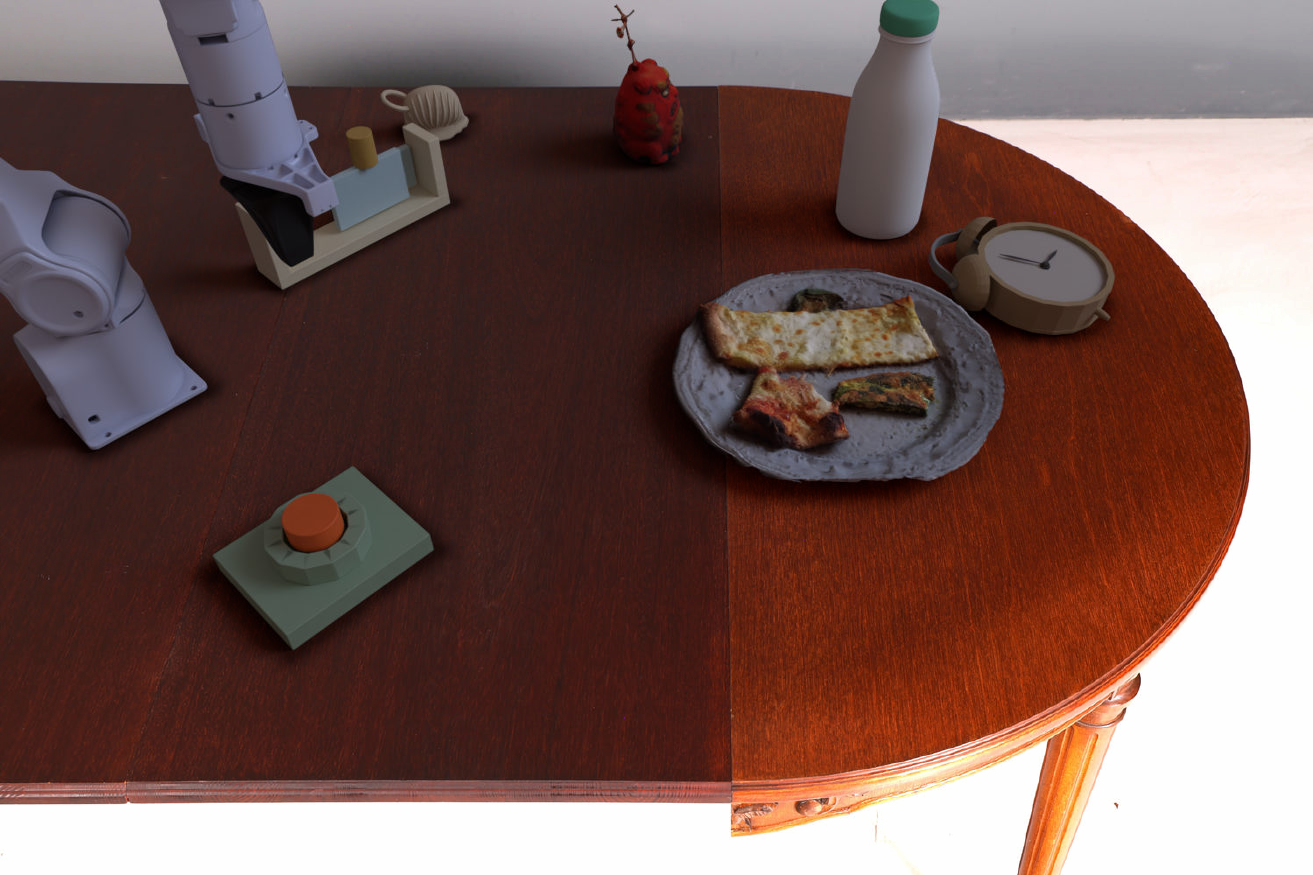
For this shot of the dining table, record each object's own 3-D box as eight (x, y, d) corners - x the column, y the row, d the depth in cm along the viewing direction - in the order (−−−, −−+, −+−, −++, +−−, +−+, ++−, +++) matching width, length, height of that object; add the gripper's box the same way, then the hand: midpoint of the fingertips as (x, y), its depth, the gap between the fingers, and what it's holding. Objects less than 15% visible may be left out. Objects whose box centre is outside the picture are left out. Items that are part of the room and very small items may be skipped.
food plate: (672, 499, 74) (672, 465, 71) (671, 293, 90) (671, 259, 87) (1028, 498, 73) (1040, 464, 71) (963, 291, 90) (971, 258, 87)
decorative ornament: (472, 137, 108) (465, 89, 104) (391, 148, 107) (380, 100, 103) (468, 118, 111) (460, 70, 107) (388, 128, 110) (378, 80, 106)
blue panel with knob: (345, 234, 94) (324, 155, 88) (332, 225, 95) (310, 146, 89) (414, 200, 98) (398, 122, 92) (400, 191, 99) (383, 113, 93)
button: (308, 562, 66) (300, 545, 65) (277, 531, 68) (270, 514, 67) (355, 530, 68) (349, 513, 67) (324, 501, 70) (318, 484, 69)
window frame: (282, 290, 91) (259, 222, 86) (258, 271, 93) (234, 203, 88) (450, 203, 100) (438, 137, 95) (425, 187, 102) (412, 122, 97)
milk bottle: (924, 242, 95) (969, 26, 80) (838, 242, 95) (868, 27, 80) (911, 194, 100) (951, -16, 86) (830, 194, 100) (856, -15, 86)
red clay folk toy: (680, 171, 103) (680, 22, 93) (609, 169, 104) (602, 21, 93) (684, 131, 109) (685, -14, 98) (617, 129, 109) (611, -15, 98)
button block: (293, 650, 66) (278, 618, 63) (220, 570, 70) (203, 537, 67) (434, 550, 71) (425, 517, 68) (357, 481, 75) (346, 448, 73)
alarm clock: (1119, 320, 82) (935, 263, 83) (1090, 364, 86) (914, 309, 87) (1117, 239, 90) (948, 187, 91) (1090, 283, 93) (928, 233, 94)
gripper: (355, 98, 65) (400, 273, 75) (235, 30, 72) (291, 197, 82) (255, 143, 62) (316, 320, 72) (140, 66, 69) (210, 237, 79)
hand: (297, 258), depth 77 cm, fingers closed
